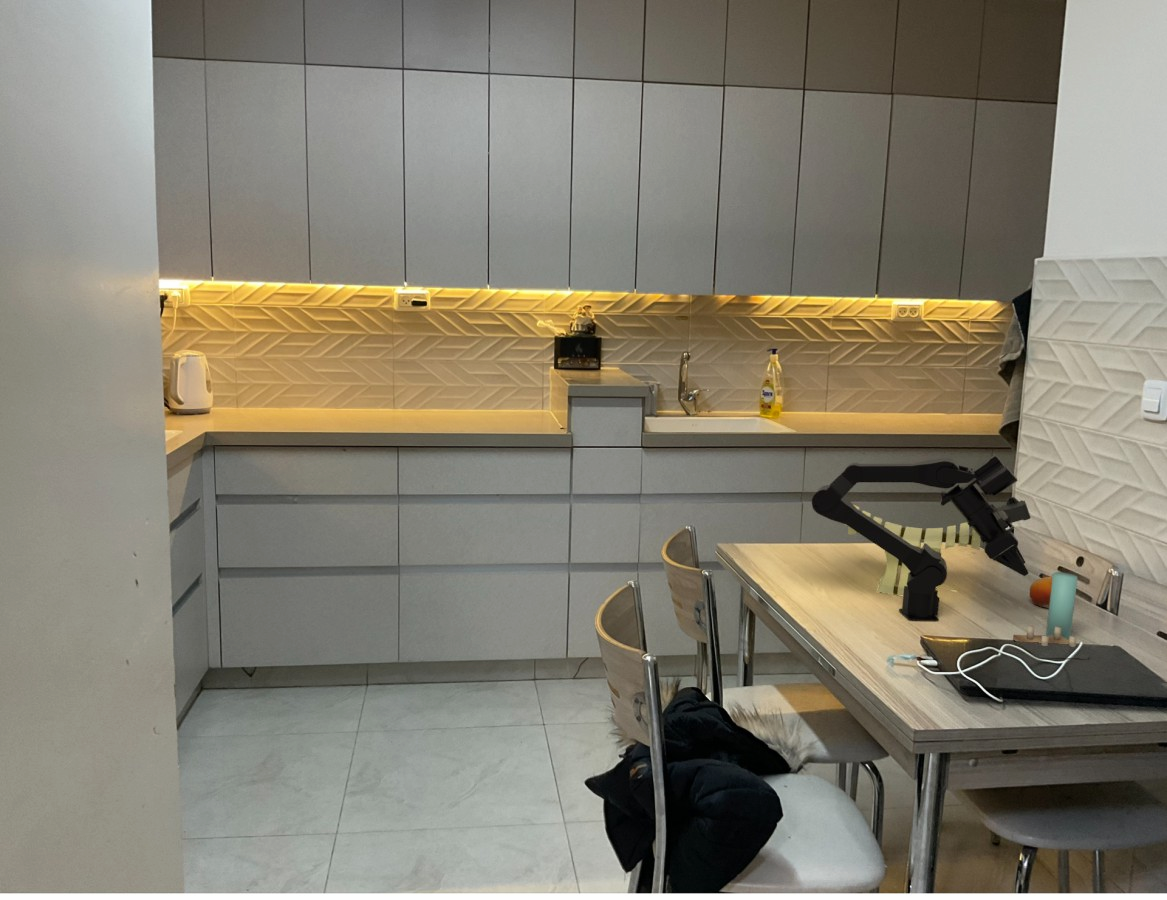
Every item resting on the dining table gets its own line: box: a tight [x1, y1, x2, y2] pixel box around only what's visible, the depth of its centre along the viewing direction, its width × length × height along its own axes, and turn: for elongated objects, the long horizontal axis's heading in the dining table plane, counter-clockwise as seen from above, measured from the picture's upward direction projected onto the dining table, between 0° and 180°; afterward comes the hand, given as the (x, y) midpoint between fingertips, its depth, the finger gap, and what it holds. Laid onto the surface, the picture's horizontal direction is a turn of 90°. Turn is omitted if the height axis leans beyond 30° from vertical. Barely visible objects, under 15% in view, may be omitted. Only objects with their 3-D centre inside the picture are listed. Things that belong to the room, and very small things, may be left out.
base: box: [1012, 625, 1077, 647], centre depth 192 cm, size 10×10×4 cm
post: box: [1045, 572, 1078, 640], centre depth 199 cm, size 4×4×13 cm
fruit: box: [1029, 576, 1053, 609], centre depth 220 cm, size 8×8×8 cm
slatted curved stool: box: [843, 504, 982, 596], centre depth 230 cm, size 30×16×18 cm, turn 69°
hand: (1025, 569), depth 201 cm, fingers open, 9 cm apart
